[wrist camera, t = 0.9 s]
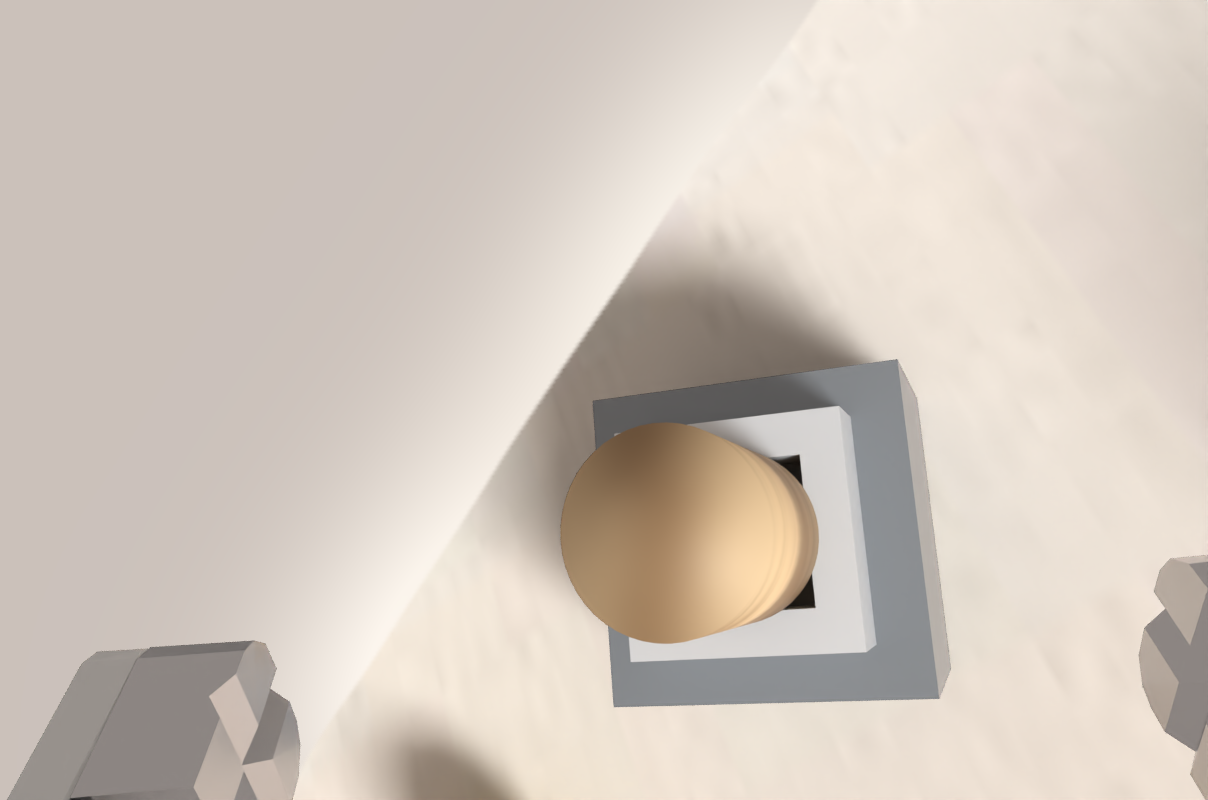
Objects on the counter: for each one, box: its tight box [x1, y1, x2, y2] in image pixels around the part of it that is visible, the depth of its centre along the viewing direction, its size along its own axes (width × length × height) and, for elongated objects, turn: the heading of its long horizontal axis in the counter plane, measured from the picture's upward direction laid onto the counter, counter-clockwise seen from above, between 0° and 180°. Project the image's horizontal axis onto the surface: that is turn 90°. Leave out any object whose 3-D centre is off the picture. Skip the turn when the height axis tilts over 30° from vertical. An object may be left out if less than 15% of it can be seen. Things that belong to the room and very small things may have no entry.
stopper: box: [561, 422, 819, 644], centre depth 33 cm, size 6×6×11 cm
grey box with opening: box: [593, 359, 951, 707], centre depth 41 cm, size 12×12×13 cm
